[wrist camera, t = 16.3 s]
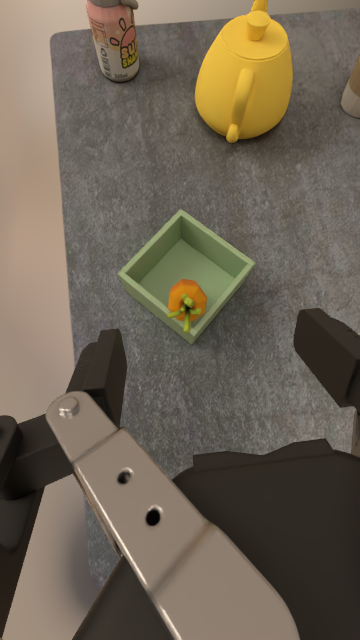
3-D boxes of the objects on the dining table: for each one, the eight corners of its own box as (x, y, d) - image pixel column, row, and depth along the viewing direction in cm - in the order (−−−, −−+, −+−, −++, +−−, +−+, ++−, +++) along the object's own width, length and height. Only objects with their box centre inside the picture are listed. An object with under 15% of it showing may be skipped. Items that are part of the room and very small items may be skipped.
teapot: (207, 56, 56) (216, -46, 43) (289, 69, 55) (324, -31, 42) (183, 147, 50) (185, 59, 37) (275, 163, 49) (312, 80, 36)
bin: (191, 345, 40) (194, 336, 33) (126, 291, 42) (116, 273, 36) (243, 282, 43) (255, 262, 36) (180, 234, 45) (180, 208, 38)
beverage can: (119, 47, 57) (104, -41, 45) (151, 63, 55) (144, -23, 44) (92, 73, 55) (69, -13, 43) (125, 90, 53) (110, 7, 42)
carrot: (190, 307, 42) (196, 345, 28) (164, 292, 42) (156, 323, 27) (207, 280, 41) (221, 307, 27) (179, 264, 40) (180, 282, 26)
